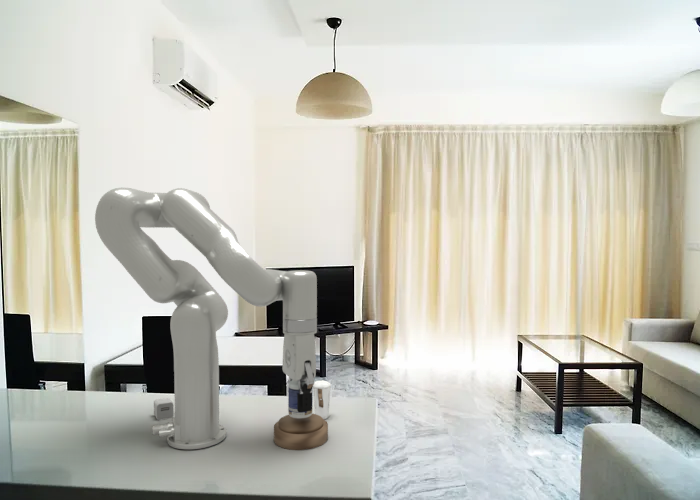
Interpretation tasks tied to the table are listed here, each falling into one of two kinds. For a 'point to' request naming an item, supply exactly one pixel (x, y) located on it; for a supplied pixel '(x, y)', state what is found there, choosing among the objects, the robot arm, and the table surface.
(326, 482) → the table surface
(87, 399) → the table surface
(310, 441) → the walnut stand
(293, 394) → the pill bottle
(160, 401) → the usb wall charger
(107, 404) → the table surface
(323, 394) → the milkshake
